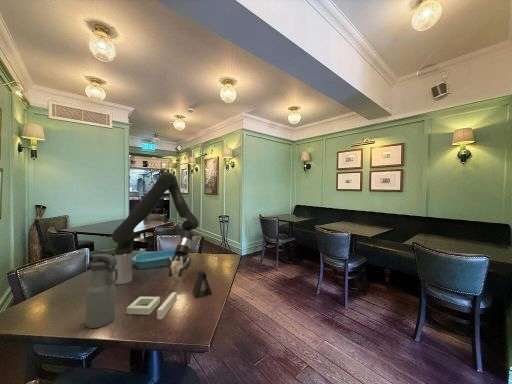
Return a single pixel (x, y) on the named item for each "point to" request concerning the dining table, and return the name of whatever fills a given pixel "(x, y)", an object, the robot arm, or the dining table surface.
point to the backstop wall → (166, 305)
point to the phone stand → (197, 287)
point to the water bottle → (101, 291)
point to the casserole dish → (153, 259)
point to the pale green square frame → (144, 310)
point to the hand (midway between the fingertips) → (174, 276)
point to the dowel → (175, 273)
